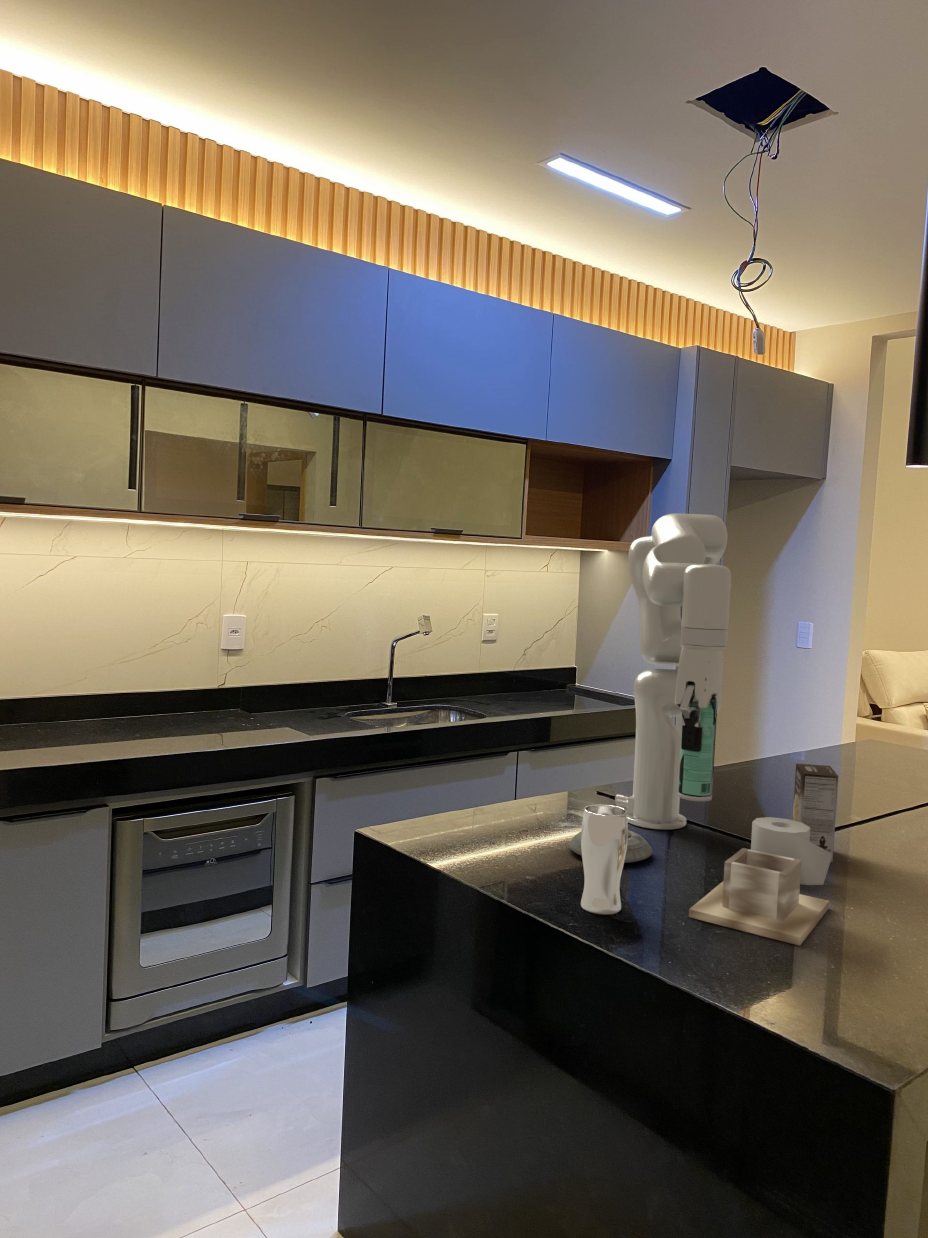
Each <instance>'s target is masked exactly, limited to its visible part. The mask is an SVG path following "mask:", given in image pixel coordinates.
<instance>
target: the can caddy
mask: <svg viewBox="0 0 928 1238" xmlns="http://www.w3.org/2000/svg"><path fill="white" fill-rule="evenodd" d="M801 861H802V860H799V859H794V858H789V857H784V856H779V855H774V854H770V853H765V852H760V851H755V850H751V848H750V849H749V848H745V847H742V848H740V850H738V851H736V852H735V853H734V854H733V855H731V857H729V858H727V859H726V860H725V861H724V867H723V870H724V871H723V881H722V882H720V883H719V884H718V885H716V886H715V887H714V888H713V889H711V891H710V892H708V893H706V895H704V896H703V897H702V898H701V899H700V900H698V901H697V902H696V903H695V904H693V906H691V907H690V908H689V909H688V918H691V919H695V920H699V921H703V922H707V923H711V924H715V925H717V926H722V927H727V928H729V929H734V930H737V931H742V932H744V933H749V934H754V935H757V936H760V937H766V938H768V939H773V940H777V941H779V942H780V941H781V942H785V943H788V944H791V945H796V946H801V945H802V944H803V942H804V941H805V940H806V939H807V937H808V936H809V935H810V933H812V931H813V930H814V928H815V927H816V926H817V925H818V923H819V922H820V920H821V919H822V918H823V916H824V915H825V914H826V913H827V912H828V910H829V909H830V900H828V899H827V900H826V899H823V898H819V897H814V896H810V895H805V894H801V893H800V891H801V890H800V889H801V884H800V876H801Z"/></svg>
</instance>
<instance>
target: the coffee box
mask: <svg viewBox="0 0 928 1238" xmlns="http://www.w3.org/2000/svg"><path fill="white" fill-rule="evenodd" d="M839 778H840V777H839V775H838V774H837V773H836V771H835V769H833V767H832V766H831V765H824V764H823V765H821V764H810V763H809V764H808V763H795V777H794V789H793V790H794V791H793V792H794V793H793V806H792V807H793V808H792V820H794V821H798V822H801V823H804V824H805V825H807V826H809V827H810V840H809V841H810V842H811V843H813V844H815V845H817V846H819V847H821V848H823V849H824V850H826V851H828V852H830V853H832V854H833V855H832V858H831V861H830V863H833V861H834V859H833V858H834V846H835V833H836V832H835V830H836V820H837V819H836V817H837V803H838V791H839V790H838V788H839Z"/></svg>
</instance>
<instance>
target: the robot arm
mask: <svg viewBox="0 0 928 1238" xmlns="http://www.w3.org/2000/svg"><path fill="white" fill-rule="evenodd" d="M727 529H728V528H727V526H726V524H725V522H724V521H723V519H721V518H720V517H719V516H717V515H715V514H704V513H702V514H701V513H699V514H698V513H679V512H677V513H668V514H665V515H662V516H661V517H659V518H658V519H657V520H655V522H654V524H653V526H652V528H651V533H650V535H646V536H641V537H639V538H636V539H634V540H633V541H632V542H631V544H630V546H629V549H628V550H629V551H628V564H627V565H628V572H629V577H630V581H631V583H632V587H633V589H634V592H635V595H636V597H637V602H638V614H639V615H638V619H639V623H638V624H639V648H640V653H641V658H642V660H643V661H644V662H646V663H648V664H650V665H656V666H668V667H672V666H673V667H677V669H672V668H671V669H668V668H651V669H645V670H642V671H641V672H640V673H639V674H638V675H637V676H636V677H635V678H634V684H633V697H634V707H635V745H634V746H635V747H634V762H633V766H634V767H633V768H634V769H633V780H632V781H633V785H632V795H630V796H626V795H622V794H619V793H618V794H616V795H615V797H614V802H615V806H618V807H623V808H624V807H625V809H626V810H627V811H628V813H627V817H628V823H629V824H631V825H634V826H636V827H640V828H645V829H650V830H651V829H653V830H664V831H665V830H669V831H670V830H676V829H677V830H679V829H682V828H684V827H685V826H686V825H687V817H685V816H684V815H682V814H680V801H681V800H680V799H681V798H680V797H679V796H678V791H679V772H680V754H681V748H682V749H683V750H689V751H695V752H699V751H701V745H702V727H700V724H701V719H702V713H703V709H706V708H708V706H709V703H710V699H711V698H712V697H711V696H712V695H713V694H717V696H716V697H717V698H718V702H717V714H718V713H719V712H720V710H721V707H722V701H723V700H722V699H723V698H722V697H723V687H724V686H723V683H724V673H723V672H724V658H723V656H724V655H723V654H724V653H723V652H724V651H727V649H728V640H729V639H728V635H729V622H730V621H729V620H730V605H731V603H730V601H731V589H732V572H731V570H730V569H729V567H728V566H725V565H720V564H718V563H719V562H720V560H721V558H722V557H723V555H724V553H725V551H726V548H727V544H728V530H727ZM681 608H682V609H681ZM692 704H698V705H697V706H699V708H698V707H691V705H692ZM694 712H697V715H696V716H695V713H694ZM673 717H674V718H676V717H677V718H679V717H682V718H681V731H680V730H679V728H678V727H677V726H676V724H674V722H673V721H672V718H673ZM681 736H682V742H681Z"/></svg>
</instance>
